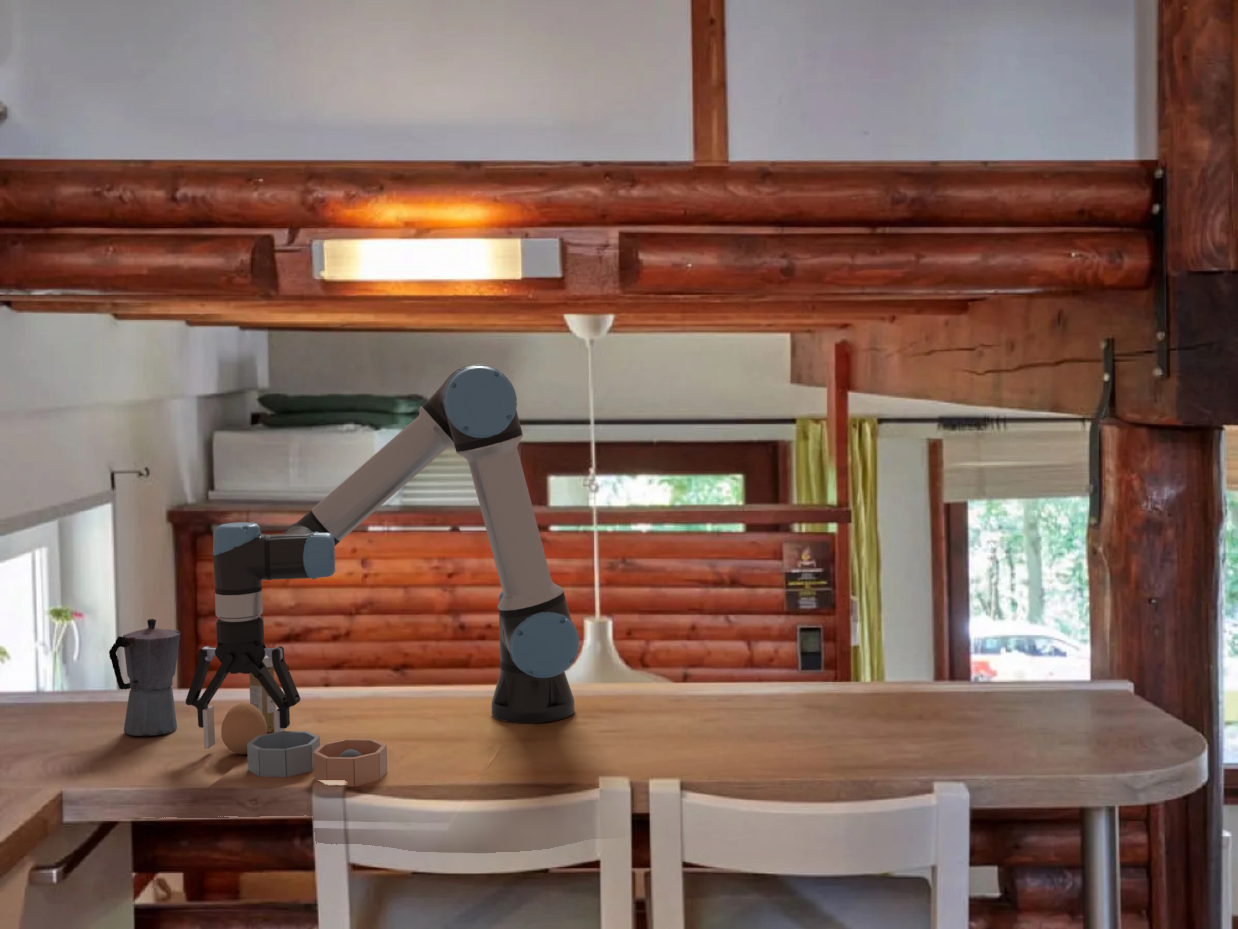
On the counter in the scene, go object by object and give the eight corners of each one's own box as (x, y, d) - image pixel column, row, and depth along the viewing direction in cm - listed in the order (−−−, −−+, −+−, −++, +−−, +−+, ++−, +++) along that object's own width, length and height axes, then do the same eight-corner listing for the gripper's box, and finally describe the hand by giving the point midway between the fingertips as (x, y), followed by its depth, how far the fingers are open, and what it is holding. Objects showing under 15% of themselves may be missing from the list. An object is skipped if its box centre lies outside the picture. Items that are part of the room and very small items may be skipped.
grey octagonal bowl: (327, 761, 216) (326, 731, 215) (305, 782, 205) (304, 750, 205) (264, 761, 217) (263, 730, 216) (240, 781, 206) (239, 749, 206)
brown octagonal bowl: (392, 770, 211) (391, 739, 210) (374, 791, 200) (373, 759, 200) (329, 769, 212) (327, 738, 211) (307, 790, 201) (306, 758, 201)
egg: (225, 763, 216) (223, 711, 216) (219, 751, 223) (217, 701, 222) (271, 756, 219) (269, 706, 218) (264, 745, 226) (262, 695, 225)
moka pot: (201, 723, 240) (197, 614, 238) (138, 747, 226) (132, 630, 225) (161, 718, 244) (156, 610, 242) (96, 741, 230) (90, 626, 229)
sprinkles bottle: (280, 731, 234) (278, 655, 233) (255, 735, 232) (252, 659, 231) (272, 725, 238) (269, 651, 237) (247, 729, 236) (244, 654, 235)
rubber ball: (367, 771, 208) (366, 746, 207) (359, 779, 204) (359, 754, 203) (342, 771, 208) (341, 746, 208) (334, 779, 204) (333, 753, 204)
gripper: (317, 612, 222) (321, 741, 224) (179, 612, 224) (185, 739, 226) (302, 621, 214) (307, 754, 216) (160, 621, 217) (166, 752, 218)
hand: (244, 747), depth 221 cm, fingers open, 11 cm apart
